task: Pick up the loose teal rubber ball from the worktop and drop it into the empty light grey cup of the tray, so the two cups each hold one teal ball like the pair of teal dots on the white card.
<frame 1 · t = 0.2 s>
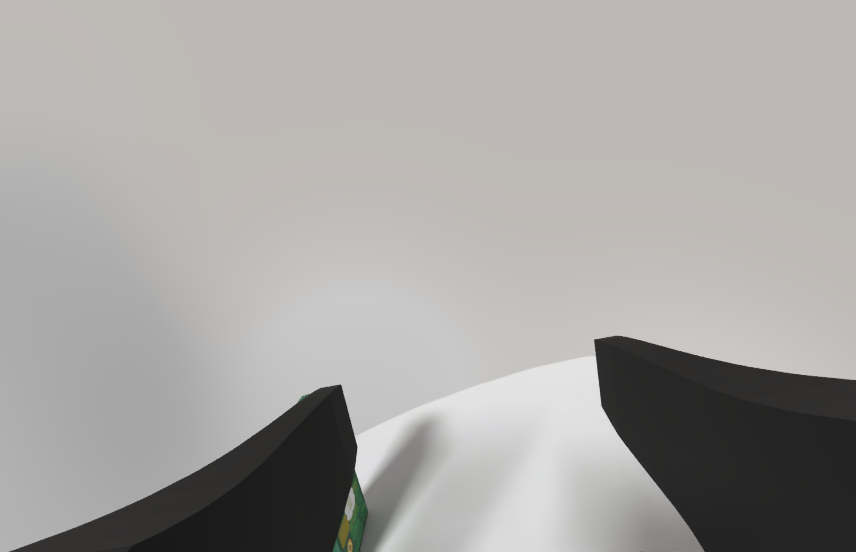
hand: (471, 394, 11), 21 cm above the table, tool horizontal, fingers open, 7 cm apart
coffee box: (347, 550, 34), on the table
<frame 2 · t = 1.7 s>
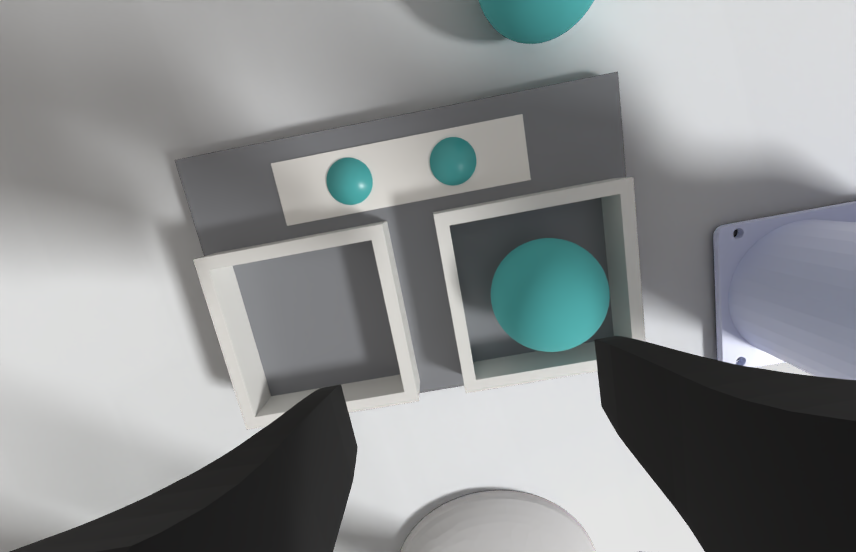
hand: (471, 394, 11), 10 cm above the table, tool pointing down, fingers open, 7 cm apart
sorting tray: (419, 259, 21), on the table
loose teal ball: (524, 0, 18), on the table
seated teal ball: (533, 281, 20), point 1 cm above the table, touching sorting tray
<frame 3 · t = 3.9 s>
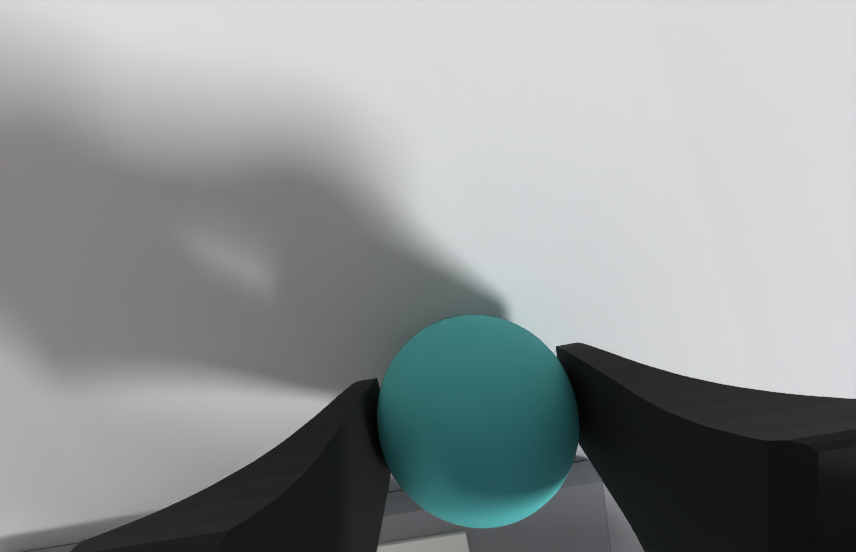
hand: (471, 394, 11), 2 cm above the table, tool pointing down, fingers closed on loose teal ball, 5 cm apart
loose teal ball: (466, 369, 13), on the table, touching gripper
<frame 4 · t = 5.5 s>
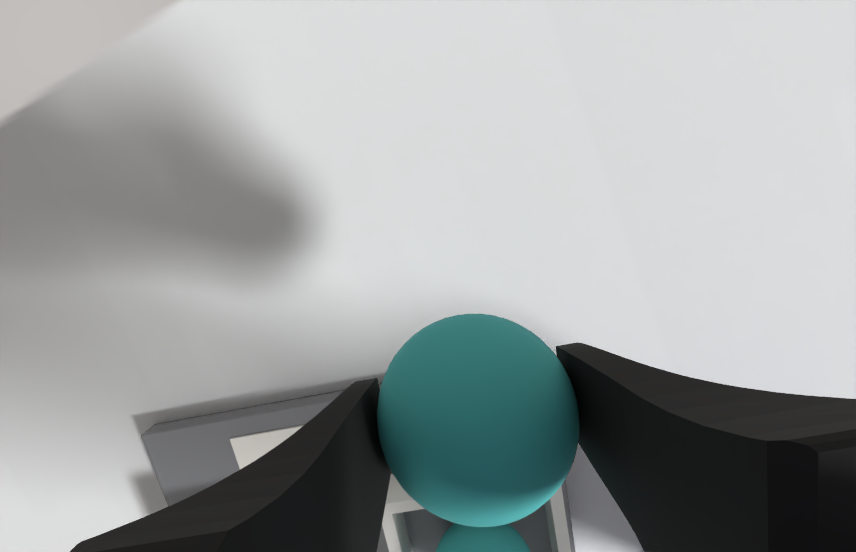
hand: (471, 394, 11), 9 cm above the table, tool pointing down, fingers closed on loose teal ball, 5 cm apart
sorting tray: (373, 502, 22), on the table
loose teal ball: (466, 368, 13), point 7 cm above the table, touching gripper
seated teal ball: (478, 531, 21), point 1 cm above the table, touching sorting tray
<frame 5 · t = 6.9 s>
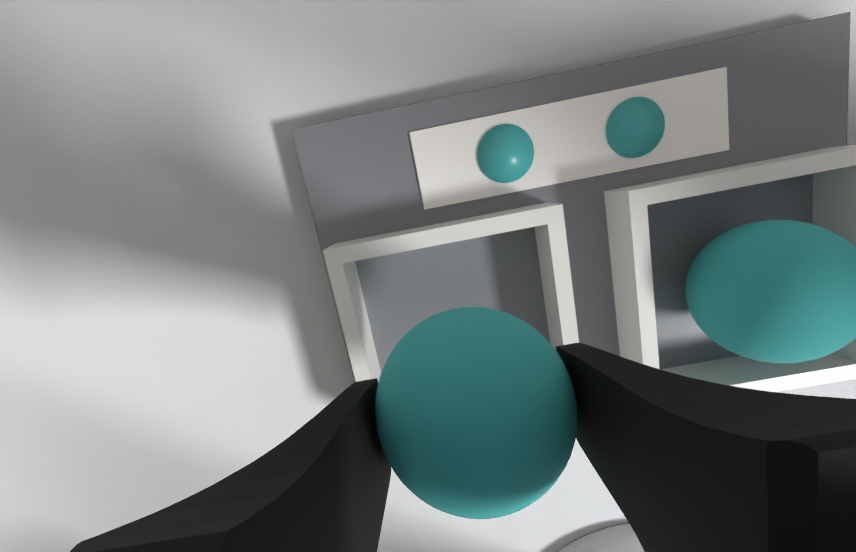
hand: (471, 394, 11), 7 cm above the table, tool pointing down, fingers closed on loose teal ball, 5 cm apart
sorting tray: (572, 250, 17), on the table
loose teal ball: (466, 362, 13), point 5 cm above the table, touching gripper
seated teal ball: (719, 275, 16), point 1 cm above the table, touching sorting tray
when the fingers open (6 cm above the table, at t = 7.6 s): loose teal ball drops 3 cm, resting on sorting tray.
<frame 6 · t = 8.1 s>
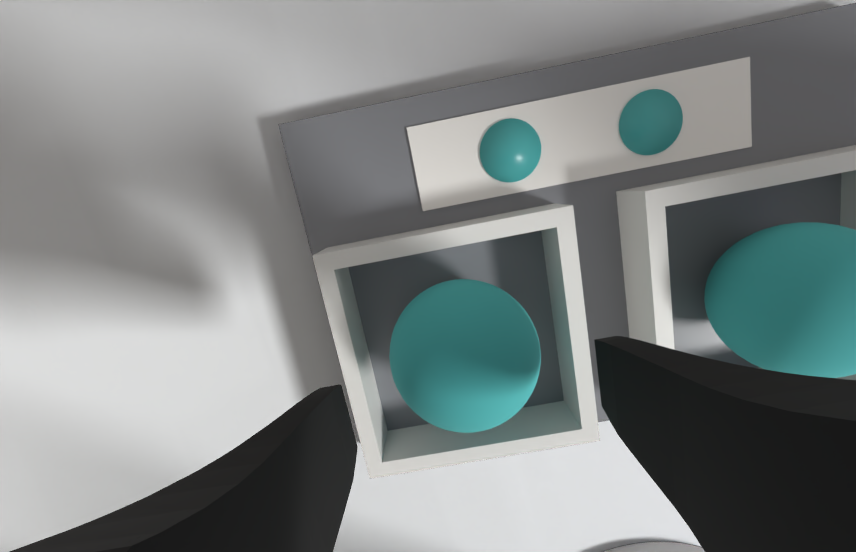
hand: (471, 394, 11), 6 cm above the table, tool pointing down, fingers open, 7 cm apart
sorting tray: (581, 254, 16), on the table
loose teal ball: (459, 327, 16), point 1 cm above the table, touching sorting tray
seated teal ball: (739, 282, 15), point 1 cm above the table, touching sorting tray
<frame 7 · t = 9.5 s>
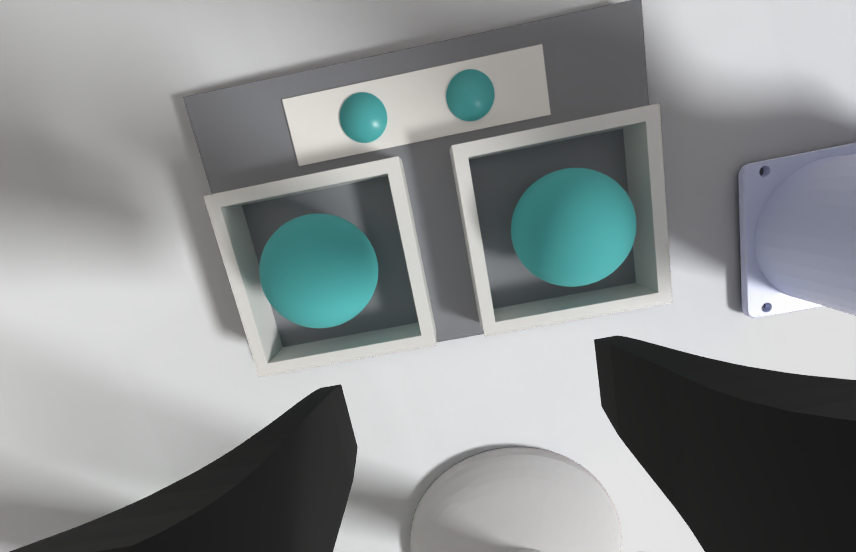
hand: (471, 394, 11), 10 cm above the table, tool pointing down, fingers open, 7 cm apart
sorting tray: (434, 203, 20), on the table
loose teal ball: (334, 261, 20), point 1 cm above the table, touching sorting tray
seated teal ball: (552, 223, 19), point 1 cm above the table, touching sorting tray
candlestick: (513, 535, 25), on the table
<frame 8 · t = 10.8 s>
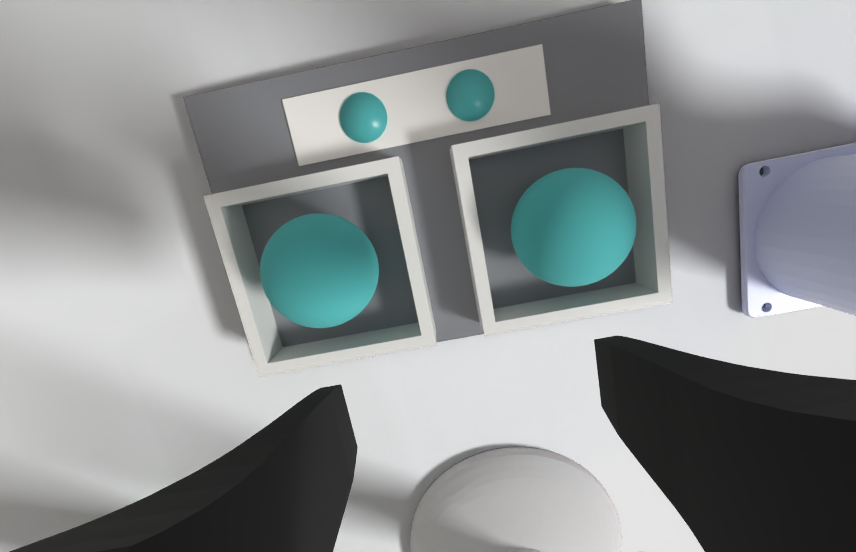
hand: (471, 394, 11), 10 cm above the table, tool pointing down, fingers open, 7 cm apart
sorting tray: (434, 203, 20), on the table
loose teal ball: (334, 261, 20), point 1 cm above the table, touching sorting tray
seated teal ball: (552, 223, 19), point 1 cm above the table, touching sorting tray
candlestick: (513, 535, 25), on the table
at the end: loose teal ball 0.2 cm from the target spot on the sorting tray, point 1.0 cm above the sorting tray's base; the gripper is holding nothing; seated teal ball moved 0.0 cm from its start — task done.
